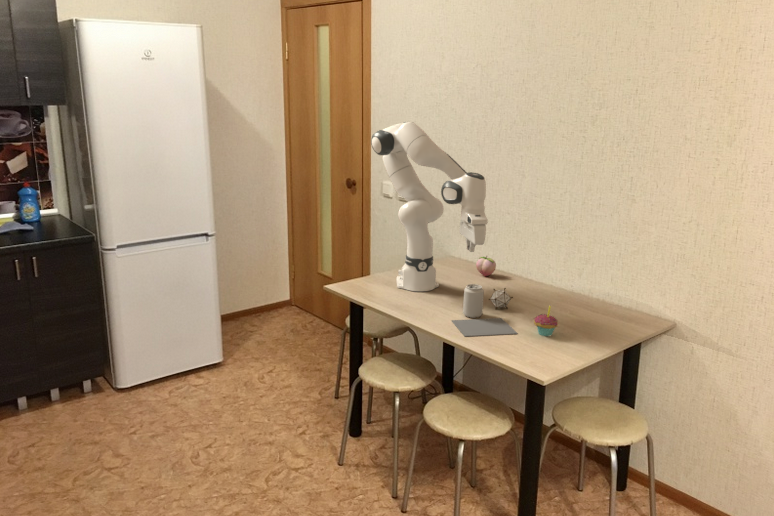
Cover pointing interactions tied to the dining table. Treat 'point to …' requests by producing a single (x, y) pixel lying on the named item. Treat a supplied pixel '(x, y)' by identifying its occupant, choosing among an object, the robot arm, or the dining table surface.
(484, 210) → the robot arm
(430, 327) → the dining table surface
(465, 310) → the can
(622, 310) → the dining table surface
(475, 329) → the mat
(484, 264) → the decorative fruit
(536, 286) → the dining table surface
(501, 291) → the game die
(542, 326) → the cupcake
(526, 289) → the dining table surface
